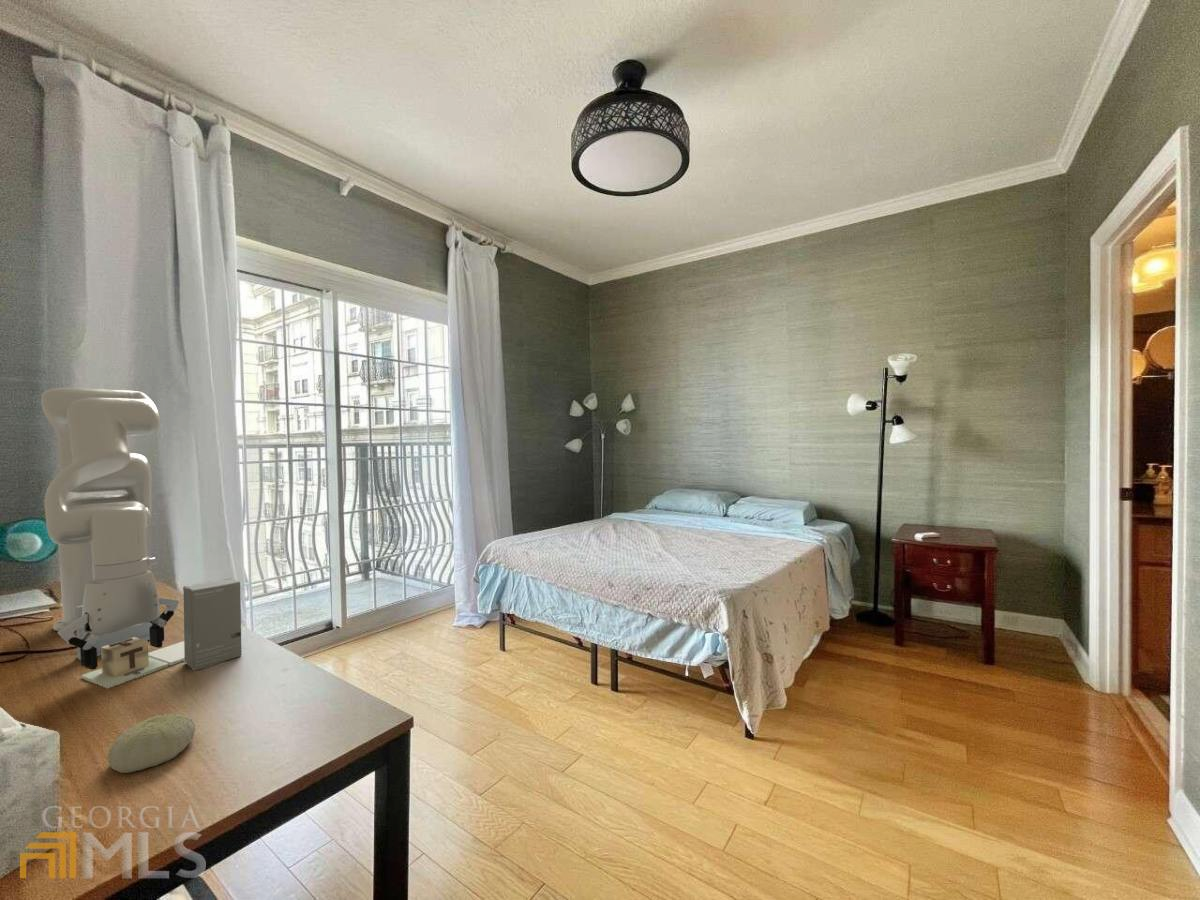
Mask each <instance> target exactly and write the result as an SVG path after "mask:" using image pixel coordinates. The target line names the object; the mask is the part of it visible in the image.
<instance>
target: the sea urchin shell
mask: <svg viewBox="0 0 1200 900" xmlns="http://www.w3.org/2000/svg"><path fill="white" fill-rule="evenodd" d="M195 731H196V725H195V722H194V721H193V719H191V717H189V716H187V715H183V714H179V713H171V714H169V713H165V714H159V715H158V714H157V715H155V716H152V717H149V718H146V719H145V720H142V721H141V722H138V723H137V724H134V725H133V726H131V727H129V728H128V729H126V730H124V731H123V732H122V733H121V734H119V736H117V737H116V739H114V741H113V742H112V744H111V746H110V748H109V750H108V753H107V760H108V762H107V763H109V766H110V767H111V768H110V769H112V770H114V771H117V772H119V773H121V774H123V773H125V774H126V773H127V774H131V773H134V772H138V771H144V770H146V769H147V768H152V767H156V766H159V765H160V764H163V763H166V762H168V761H170V760H172V759H174V758H175V757H177V756H178V755H179V754H180V753H181V752H183V751H184V750H185V748H186V747H188V745H189V744H190V743H191V742H192V740H193V739H194V737H195V736H194V735H195Z"/></svg>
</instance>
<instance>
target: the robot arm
mask: <svg viewBox="0 0 1200 900" xmlns="http://www.w3.org/2000/svg"><path fill="white" fill-rule="evenodd" d="M40 402H41V408H42V412H43V413H44V416H45V418H46V419H47V421H48V422H49V424H50V425H51V426H52V428H53V430H54V431H55V434H56V436H57V441H58V464H59V465H58V468H59V472H58V474H56V476H55V477H54V478H53V479H52V480H51V482H50V483H49V485H48V487H47V488H46V492H45V494H44V514H45V524H46V525H45V526H46V531H47V534H48V537H49V539H50V540H51V541H52V542H53V543H54V544H57V546H58V555H59V557H58V559H59V573H60V575H59V576H60V592H61V609H62V610H61V611H62V619H60V620H58V621H55V623H53V625H52V626H53V627H52V628H53V630H54V631H56V632H57V635H58V636H60V638H61V639H63V641H65V642H66V643H67V644H68V645H72V646H74V647H79V648H80V653H81V660H80V665H81V666H82V667H84V668H86V669H88V670H91V671H95V670H97V668H98V657H97V648H95V647H93V645H94V644H95V643H96V641H97V640H98V639H99V638H100V637H101V635H105V634H109V633H112V632H116V631H119V630H123V629H126V628H130V627H133V626H137V625H140V624H144V623H147V622H150V623H151V624H152V626H150V628H149V631H150V640H149V645H150V646H151V647H153V648H157V649H161V648H163V642H164V641H165V626H166V625H168V622H169V621H170V620H171V618H172V617H173V616H174V614H175V611H176V609H177V607H178V606H179V603H180V602H179V600H177V599H174V598H173V599H172V598H171V599H170V598H165V597H159V592H158V588H157V584H156V579H155V576H154V575H153V571H151V570H150V567H151V566H152V565H156V564H157V559H156V557H149V556H148V547H147V544H148V543H147V528H148V527H149V526H150V524H151V518H152V469H151V465H150V462H149V460H148V458H147V457H146V456H144V455H143V454H141V453H135V452H130V448H129V444H128V443H129V442H128V438H127V436H153V435H154V434H156V433H157V432H158V430H159V429H160V423H161V419H160V413H159V410H158V407H157V405H156V404H155V402H154V401H153V400H152V399H151V398H150V397H149V396H148V395H147V394H146V393H144V392H143V391H140V390H139V391H137V390H126V389H125V390H124V389H106V388H105V389H104V388H90V387H88V388H87V387H55V388H51V389H48V390H46V391H44V392H43V393H42V395H41V399H40ZM115 491H117V492H118V491H124V492H127V493H118V494H103V495H102V494H98V495H89V496H86V495H85V496H76V497H70V498H67V495H68V494H69V493H76V494H77V493H80V494H82V493H83V494H84V493H97V492H98V493H100V492H101V493H102V492H115ZM66 498H67V499H66ZM81 605H83V608H82V616H81V617H79V618H78V619H76V611H75V607H77V606H81ZM161 605H163V606H166V607H165V610H164V611H163V612H162V613H161V614H160V611H161V610H160V609H161V608H160V606H161ZM80 627H82V629H83V631H84V632H86V633H85V635H84V636H83V637H82V638H81V639H79V638H77V635H76V634H75V632H76V631H77V629H78V628H80Z"/></svg>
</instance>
